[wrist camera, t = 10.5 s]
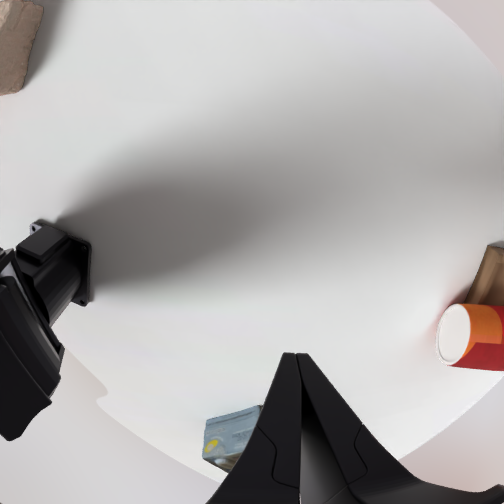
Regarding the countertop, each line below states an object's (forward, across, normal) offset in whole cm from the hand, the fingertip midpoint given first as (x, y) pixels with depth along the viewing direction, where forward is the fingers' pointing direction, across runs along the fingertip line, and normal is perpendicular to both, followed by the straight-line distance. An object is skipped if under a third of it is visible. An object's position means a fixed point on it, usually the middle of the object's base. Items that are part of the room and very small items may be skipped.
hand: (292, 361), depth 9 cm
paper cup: (+9, -16, +6) cm, 20 cm away
